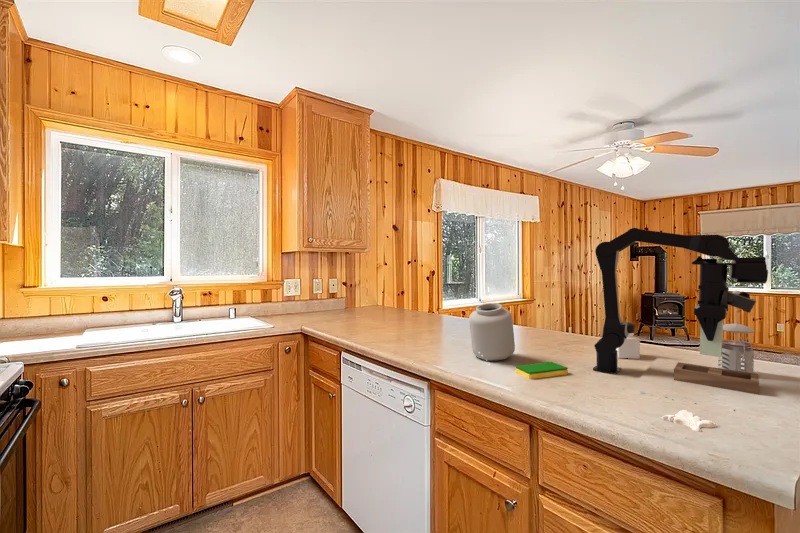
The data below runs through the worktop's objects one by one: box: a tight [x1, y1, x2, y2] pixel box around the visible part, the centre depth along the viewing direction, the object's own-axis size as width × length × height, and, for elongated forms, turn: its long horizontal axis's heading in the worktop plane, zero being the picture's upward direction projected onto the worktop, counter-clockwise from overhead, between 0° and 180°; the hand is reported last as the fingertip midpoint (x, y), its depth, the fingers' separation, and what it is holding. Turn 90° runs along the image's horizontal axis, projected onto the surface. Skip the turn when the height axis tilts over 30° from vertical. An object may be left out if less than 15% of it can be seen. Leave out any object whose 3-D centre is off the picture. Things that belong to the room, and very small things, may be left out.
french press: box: [717, 290, 755, 373], centre depth 108 cm, size 10×12×25 cm
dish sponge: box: [515, 361, 569, 380], centre depth 114 cm, size 7×14×2 cm, turn 108°
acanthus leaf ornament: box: [661, 409, 720, 433], centre depth 79 cm, size 8×7×2 cm
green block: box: [699, 319, 724, 358], centre depth 101 cm, size 4×4×10 cm
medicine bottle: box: [616, 321, 641, 360], centre depth 132 cm, size 7×7×12 cm
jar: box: [468, 287, 516, 365], centre depth 131 cm, size 19×15×25 cm
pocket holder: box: [673, 361, 760, 396], centre depth 101 cm, size 9×17×4 cm, turn 47°
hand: (711, 339), depth 101 cm, fingers closed on green block, 4 cm apart
